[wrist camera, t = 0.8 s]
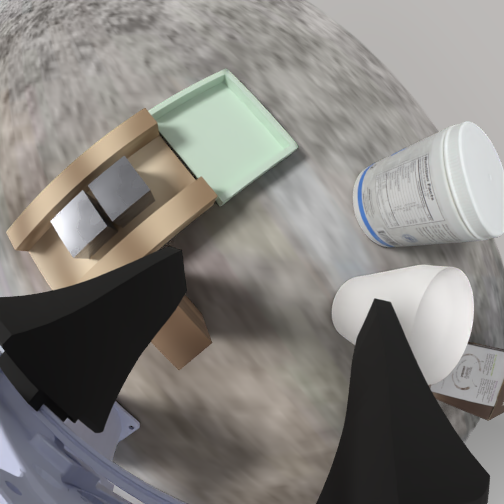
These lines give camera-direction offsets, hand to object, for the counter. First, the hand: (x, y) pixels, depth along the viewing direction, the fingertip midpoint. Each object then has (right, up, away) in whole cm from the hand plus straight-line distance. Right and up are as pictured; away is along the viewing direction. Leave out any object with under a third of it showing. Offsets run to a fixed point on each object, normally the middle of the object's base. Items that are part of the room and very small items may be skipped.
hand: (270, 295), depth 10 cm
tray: (-4, +13, +14) cm, 19 cm away
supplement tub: (+14, +7, +19) cm, 24 cm away
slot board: (-13, +4, +12) cm, 18 cm away
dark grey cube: (-11, +6, +11) cm, 17 cm away
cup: (+10, -4, +17) cm, 20 cm away
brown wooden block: (-7, -3, +13) cm, 15 cm away
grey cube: (-14, +3, +10) cm, 18 cm away
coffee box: (+20, -12, +19) cm, 30 cm away
